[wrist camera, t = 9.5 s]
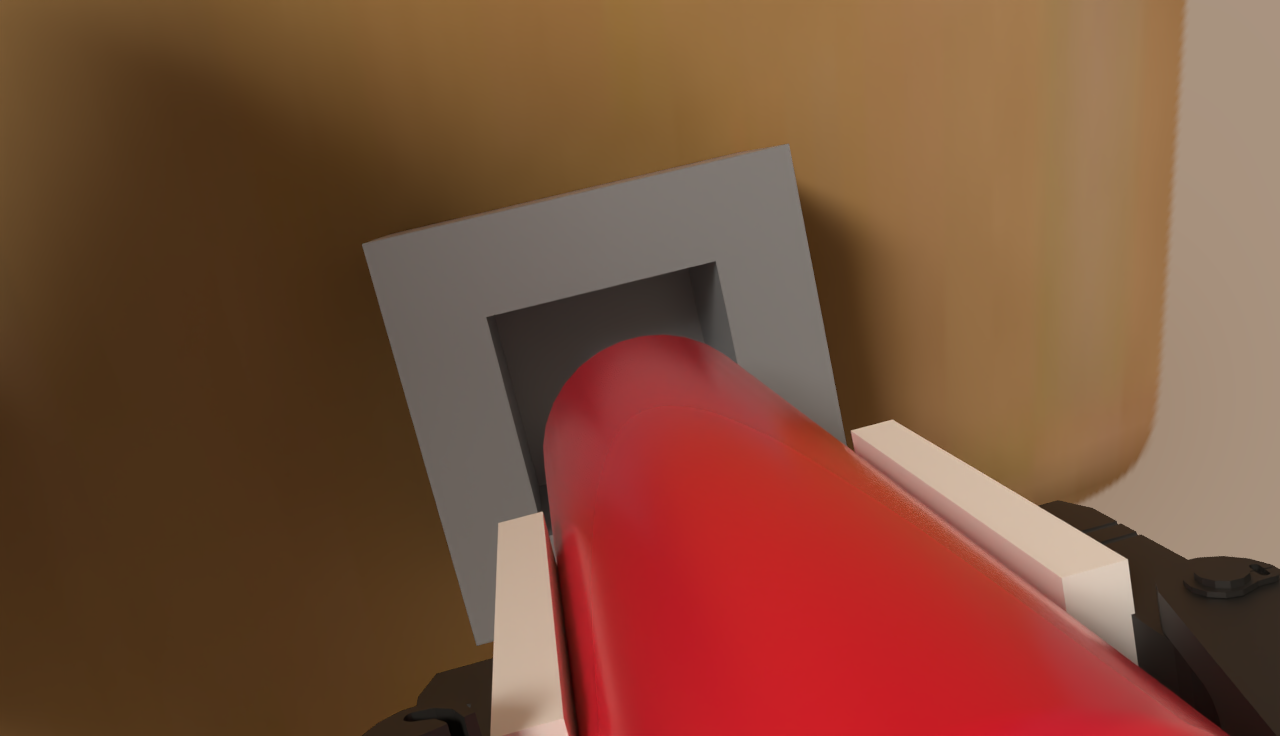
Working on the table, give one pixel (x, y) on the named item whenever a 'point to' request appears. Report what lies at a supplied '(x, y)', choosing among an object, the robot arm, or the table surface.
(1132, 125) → the table surface
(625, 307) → the holder
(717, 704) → the bottle
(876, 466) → the robot arm
